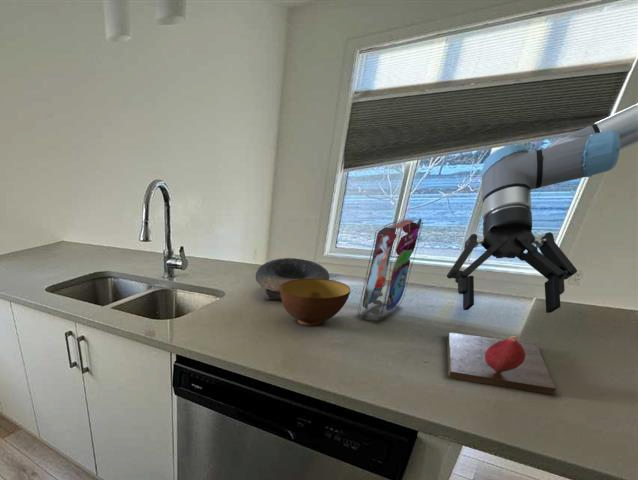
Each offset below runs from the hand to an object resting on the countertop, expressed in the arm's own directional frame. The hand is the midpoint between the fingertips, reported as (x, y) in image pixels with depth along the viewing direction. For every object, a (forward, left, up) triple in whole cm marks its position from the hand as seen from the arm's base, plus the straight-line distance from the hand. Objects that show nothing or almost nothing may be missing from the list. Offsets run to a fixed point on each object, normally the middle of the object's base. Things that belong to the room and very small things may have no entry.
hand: (509, 308), depth 80 cm
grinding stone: (+60, +11, -13) cm, 62 cm away
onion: (-5, +3, -12) cm, 13 cm away
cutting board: (+1, -3, -13) cm, 13 cm away
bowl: (+36, +19, -13) cm, 43 cm away
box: (+37, -6, -13) cm, 39 cm away
